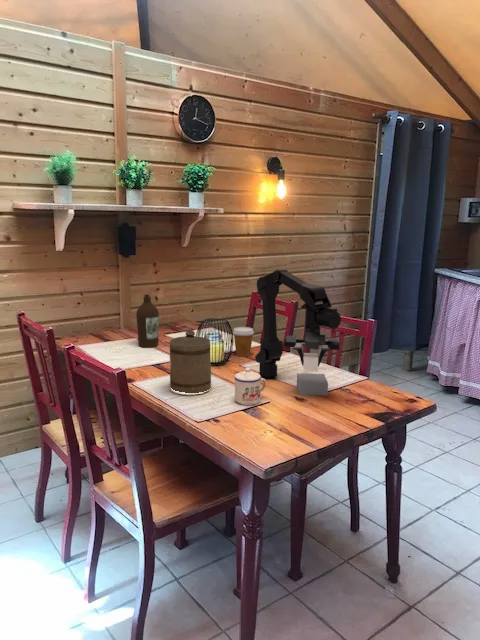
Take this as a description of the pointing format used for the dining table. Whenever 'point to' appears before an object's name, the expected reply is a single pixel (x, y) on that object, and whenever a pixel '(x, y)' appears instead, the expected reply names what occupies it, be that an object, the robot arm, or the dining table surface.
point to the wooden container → (190, 363)
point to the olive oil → (147, 323)
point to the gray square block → (312, 384)
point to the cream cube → (310, 362)
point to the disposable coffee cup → (243, 340)
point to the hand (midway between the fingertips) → (310, 366)
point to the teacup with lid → (248, 387)
